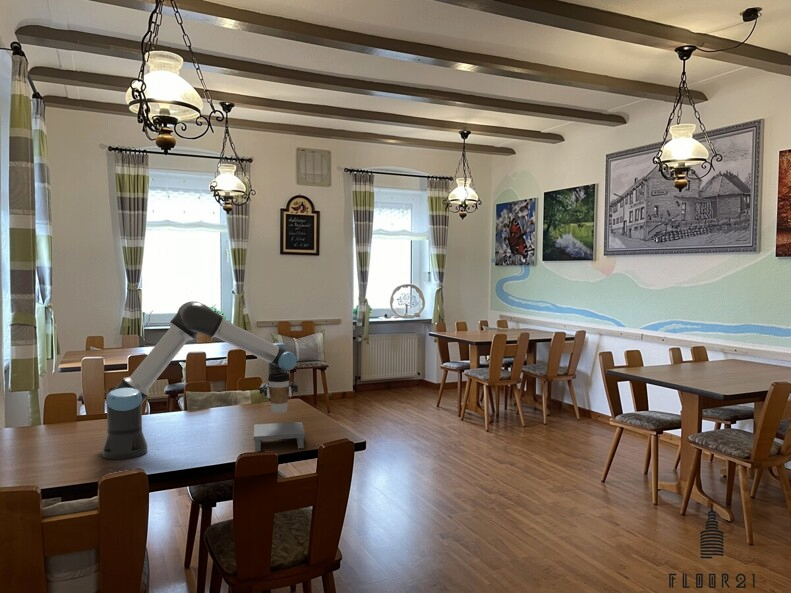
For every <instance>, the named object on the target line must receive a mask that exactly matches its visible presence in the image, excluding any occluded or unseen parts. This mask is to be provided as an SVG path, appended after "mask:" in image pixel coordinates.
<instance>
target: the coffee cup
mask: <svg viewBox="0 0 791 593" xmlns="http://www.w3.org/2000/svg"><path fill="white" fill-rule="evenodd" d="M268 375H269V377H268V376H267V377H268V378H267V381H268V383H269V391H270V392H269V400H270V408H271V413H273V414H283V413H286V412H288V400H289V392H288V391H289V384H290V383H289V382H290V380H291V378H290V373H289V372H286V373H273V374H269V373H268Z"/></svg>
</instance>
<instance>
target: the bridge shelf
mask: <svg viewBox="0 0 791 593" xmlns="http://www.w3.org/2000/svg"><path fill="white" fill-rule="evenodd" d="M304 438H306V433H305V429H304V425H303V422H302V421H295V422H277V423H275V422H273V423H258V424H257V423H255V424H254V425H253V441H254V452H255V453H258V452H257V451H261V446H262V445H261V443H262V442H261V441H266V440H280V439H281V440H283V439H284V440H285V439H296V440H297V441H296V445H298V446H297V449H298V450H300V449H299V448H304Z"/></svg>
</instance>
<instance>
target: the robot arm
mask: <svg viewBox="0 0 791 593" xmlns="http://www.w3.org/2000/svg"><path fill="white" fill-rule="evenodd" d="M199 334H200V335H204V336H206V337H209V338H210V339H212V338H217V339H219V340H221V341H223V342H225V343H227V344H230V345H231V346H234V347H236V348H238V349H240V350H242V351H244V352H247V353H249V354H251V355H252V356H255V357H256V358H259V359H261V360H263V361H266V362H267V363H268V375H267V377H269V374H273V373H287V371H290V370H293V369H294V368H295V367H296V365H297V357H296V355H295V354H294V353H293V352H291V351H289V350H287V347H286V346H287V345H286V344H285V343H284V342H270V341H269V340H266V339H264V338H262V337H259V336H258V335H256V334H255V333H252V332H250V331H248V330H246V329H244V328H243V327H240V326H237V325H235V324H234V323H232V322H229V321H228V320H225V317H224V316H223V315H221V314H219V313H217V312H216V311H215V310H212V309H211V308H210V307H208V306H207V305H206V304H204V303H202V302H199V301H196V300H194V301H187V302H184V303H183V304H182V305H181V306H180V307H179V308H178V310H177V313H176V314H175V316H173V317H172V319H171V320H170V321H169V328H168V329H167V331H166V332H165V333H164V335H163V336H162V337H161V339H159V341H158V342H157V343H156V344H155V346H154V347H153V348H152V349H151V350H150V352H149V353H148V354H147V356H145V358H144V359H143V360H142V361H141V363H140V364H139V365H138V366H137V368H136V369H135V370H134V371H133V372H132V374H131V375H130V376H128V377H123V378H122V380H120V382H119V383H117V385H116V387H114V388H113V389H111V390H110V391H109V392H108V394H107V396H106V402H105V404H106V411H107V412H106V418H107V419H106V421H107V425H106V426H107V430H106V431H107V435H106V439H105V441H104V443H103V444H104V445H103V448H102V453H101V454H102V457H103V458H104V459H107V460H127V459H133V458H137V457H140V456H143V455H145V454H146V453H147V452H148V443H147V441H146V438H145V435H144V433H143V418H142V417H143V412H142V411H143V410H142V408H143V405H142V404H143V403H144V401H146V399H147V398H148V397H149V395H150V389H151V387H152V385H153V384H154V383H155V381H156V380H157V379H158V378H159V377H160V375H162V373H163V372H164V371H165V370H166V368H168V366H169V364H170V363H171V362H172V361H173V359H175V357H176V356H177V355H178V354H179V352H180V351H181V350H182V348H183V347H184V346H185V345H186V344H187V342H189V341H193V340H194V339H195V338H196V337H197V336H198V335H199ZM260 384H261V385H260V386H259V389H258V390H259V395H263V396H264V397H266V398H267V399H270V391H269V382H268V383H265V382H261V383H260ZM298 392H299V386H298V384H296V382H295V381H291V382H290V383H289V391H288V398H289V397H291V398H292V394H295V393H298Z"/></svg>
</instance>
